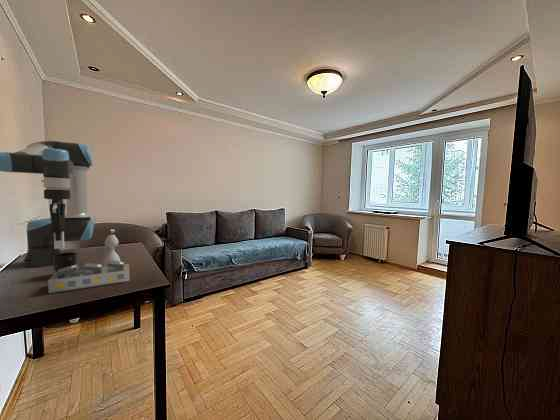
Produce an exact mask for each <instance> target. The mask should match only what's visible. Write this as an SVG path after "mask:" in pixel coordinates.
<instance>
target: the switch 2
mask: <svg viewBox="0 0 560 420" xmlns="http://www.w3.org/2000/svg"><path fill="white" fill-rule="evenodd" d="M102 267H103V264H99V263H91V262H90V263H89V262H85V264H84V265H83V268H82V269H83V270H88V271H100V272H101V268H102Z"/></svg>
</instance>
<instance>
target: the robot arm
mask: <svg viewBox="0 0 560 420" xmlns="http://www.w3.org/2000/svg"><path fill="white" fill-rule="evenodd" d="M93 165H94V162H93V156H92V153H91V148H90V146H88V145H87V144H84V143H83V144H82V143H78V142H76V143H75V142H65V141H57V140H56V141H55V140H44V141H42V140H41V141H38V142H37V141H36V142H31V143H30V144H28V145H27V146H26V147H25V148H23V149H20V150H17V151H15V152H8V151H0V172H4V173H23V174H37V175H39V174H40V175H43V179H41V183H43V188H45V189H44V190H43V199H45V200H51V203H50V204H49V209H48V210H49V213H50V218H39V219H34V220H30V221H28V222H27V223H26V231H25V232H26V239H27V251H26V254H25V256H24V258H23V263H22V264H23V266H24V267H29V268H31V267H34V268H35V267H44V266H50V265H51V266H52V265H53V257H52V256H53V255H55V254H59V253H63V252H62V250H61V249H64V248H65V242H75V241H76V242H77V241H79V242H81V241H88V240H90V239H92V236H93V232H94V226H95V220H94V219H91V218H92V217H91V215H89V214H88V194H87V193H88V191H87V188H88V187H87V171H90V167H93ZM64 200H66V203H64Z"/></svg>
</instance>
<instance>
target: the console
mask: <svg viewBox="0 0 560 420" xmlns="http://www.w3.org/2000/svg"><path fill="white" fill-rule="evenodd" d="M130 277H131V275H130V264H129V263H124V267H123V269H122V268H111V267H104V266H102V268H101V272H100V271H88V270H83V268H82V269H78V270H77V271H76V272H72V273H69V274H65V275H62V276H57V273H56V272H54V273H53V274H52V275H51V276H50V278H49V279H48V280H47V285H48V287H47V289H48V294H53V293H60V292H67V291H73V290H79V289H87V288H93V287H94V288H95V287H100V286H106V285H112V284H119V283H124V282H130V280H131V279H130Z"/></svg>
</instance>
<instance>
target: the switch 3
mask: <svg viewBox="0 0 560 420" xmlns="http://www.w3.org/2000/svg"><path fill="white" fill-rule="evenodd" d="M124 264H125V262H124V261H121V262H118V261H108V264H107V267H111V268H122V269H123V267H124Z"/></svg>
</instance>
